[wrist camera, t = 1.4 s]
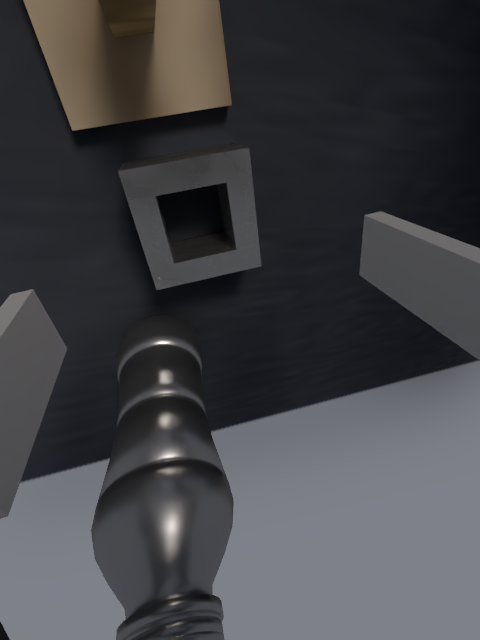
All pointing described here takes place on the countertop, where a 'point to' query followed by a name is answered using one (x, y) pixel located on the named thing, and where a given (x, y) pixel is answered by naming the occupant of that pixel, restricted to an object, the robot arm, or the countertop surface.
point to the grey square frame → (204, 251)
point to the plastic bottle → (163, 490)
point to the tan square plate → (132, 57)
